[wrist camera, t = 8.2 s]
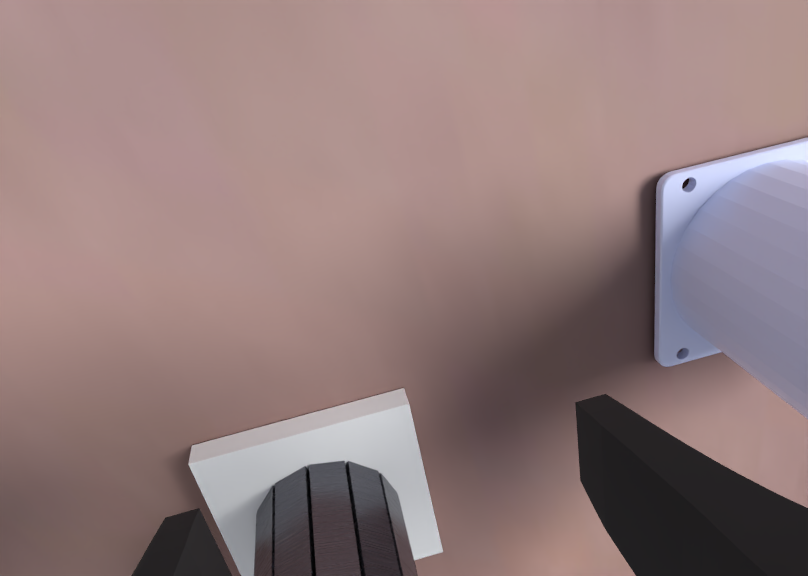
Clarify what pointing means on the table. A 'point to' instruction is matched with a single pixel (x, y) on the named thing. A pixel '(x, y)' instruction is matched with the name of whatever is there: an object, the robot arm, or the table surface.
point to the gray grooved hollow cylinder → (332, 525)
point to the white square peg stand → (312, 444)
